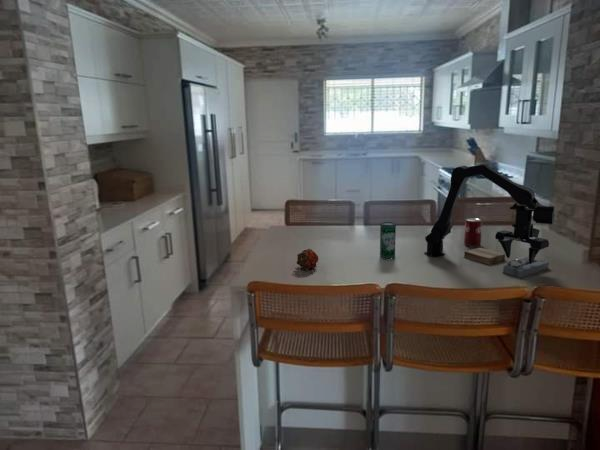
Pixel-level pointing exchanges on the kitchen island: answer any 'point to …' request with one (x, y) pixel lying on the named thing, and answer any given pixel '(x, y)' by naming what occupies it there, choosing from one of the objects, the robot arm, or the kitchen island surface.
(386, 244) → the can
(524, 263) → the roller
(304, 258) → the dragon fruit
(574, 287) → the kitchen island surface
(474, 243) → the soda can
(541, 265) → the stop cradle
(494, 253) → the slab
